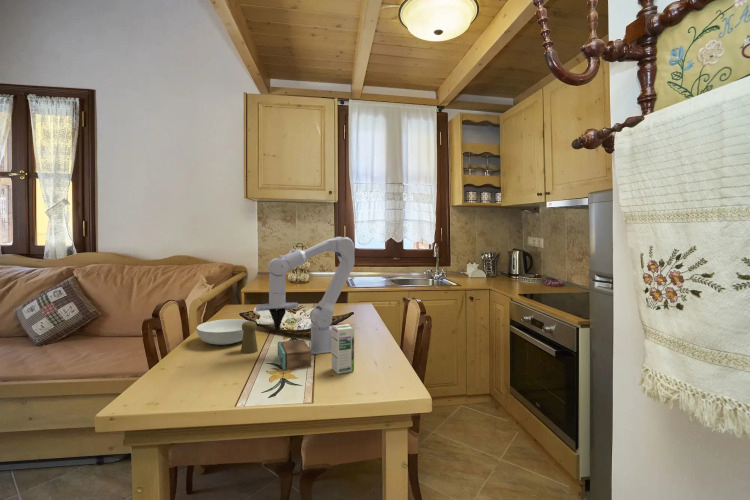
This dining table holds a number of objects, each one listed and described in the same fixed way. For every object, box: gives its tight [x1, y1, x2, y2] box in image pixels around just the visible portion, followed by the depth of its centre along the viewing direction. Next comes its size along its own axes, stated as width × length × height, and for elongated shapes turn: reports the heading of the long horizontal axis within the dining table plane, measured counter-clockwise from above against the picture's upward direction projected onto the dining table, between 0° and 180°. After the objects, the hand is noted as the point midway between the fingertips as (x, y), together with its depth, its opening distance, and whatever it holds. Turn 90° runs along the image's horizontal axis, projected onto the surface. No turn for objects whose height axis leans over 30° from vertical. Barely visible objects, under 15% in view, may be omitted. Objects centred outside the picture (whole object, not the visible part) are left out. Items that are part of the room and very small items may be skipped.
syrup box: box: [331, 323, 355, 375], centre depth 117 cm, size 6×6×14 cm
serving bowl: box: [196, 318, 249, 346], centre depth 144 cm, size 21×21×7 cm
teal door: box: [277, 341, 286, 371], centre depth 122 cm, size 2×13×5 cm, turn 22°
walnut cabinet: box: [281, 339, 312, 371], centre depth 124 cm, size 8×13×6 cm, turn 23°
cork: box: [240, 320, 258, 355], centre depth 133 cm, size 6×6×11 cm
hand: (277, 329), depth 129 cm, fingers closed
